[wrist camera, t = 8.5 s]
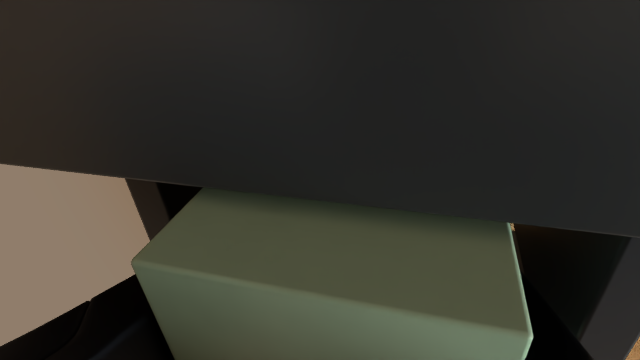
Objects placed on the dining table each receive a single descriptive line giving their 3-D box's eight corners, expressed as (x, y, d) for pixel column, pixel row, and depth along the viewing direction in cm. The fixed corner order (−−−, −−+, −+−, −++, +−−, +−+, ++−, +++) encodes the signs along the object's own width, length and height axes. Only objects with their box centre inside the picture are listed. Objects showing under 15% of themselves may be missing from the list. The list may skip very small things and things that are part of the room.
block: (460, 294, 9) (466, 521, 6) (291, 266, 10) (209, 438, 7) (491, 130, 7) (536, 338, 3) (269, 117, 8) (126, 261, 4)
